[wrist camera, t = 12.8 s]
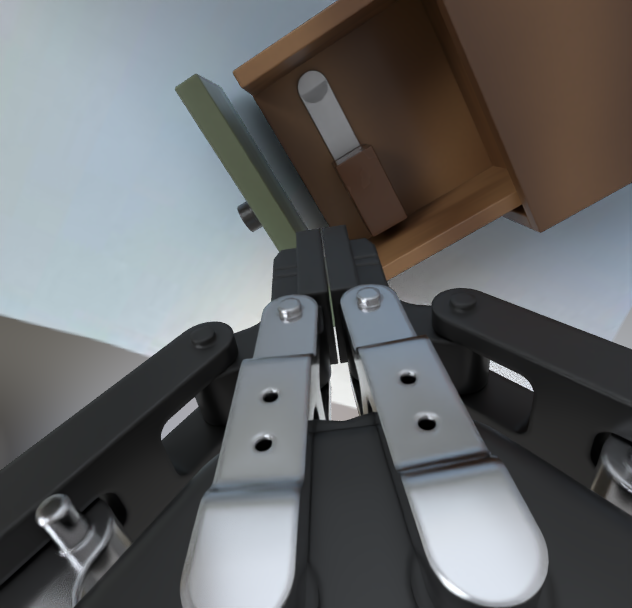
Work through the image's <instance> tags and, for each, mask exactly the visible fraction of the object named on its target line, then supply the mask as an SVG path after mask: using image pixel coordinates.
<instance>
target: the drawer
mask: <svg viewBox="0 0 632 608" xmlns="http://www.w3.org/2000/svg"><path fill="white" fill-rule="evenodd" d="M310 70H316V71H319V72H321V73H322V74H323V75H324V76H325V77H326V79H327V81H328V83H329V85H330V87H331V89H332V91H333V93H334V95H335V97H336V99H337V101H338V102H339V104H340V106H341V108H342V110H343V112H344V114H345V116H346V118H347V120H348V122H349V124H350V126H351V128H352V130H353V132H354V134H355V136H356V138H357V139H358V141H359V143H360V145H361V144H368V145H372V147H373V149H374V151H375V153H376V154H377V156H378V158H379V160H380V162H381V164H382V166H383V168H384V170H385V172H386V174H387V176H388V178H389V180H390V182H391V184H392V186H393V188H394V190H395V192H396V194H397V196H398V198H399V200H400V202H401V204H402V206H403V208H404V210H405V212H406V214H407V216H408V218H407V219H405V220H403V221H401V222H400V223H398V224H396V225H394V226H393V227H391V228H389V229H387V230H386V231H384V232H382V233H380V234H379V235H377V236H375V237H373V236H372V235H371V233H370V232H369V231H368V229H367V228H366V227H365V225H364V223H363V221H362V219H361V217H360V216H359V214H358V212H357V210H356V208H355V206H354V205H353V203H352V201H351V199H350V197H349V195H348V194H347V192H346V190H345V188H344V186H343V184H342V182H341V181H340V179H339V177H338V175H337V173H336V171H335V170H334V168H333V166H332V164H331V163H332V162H333V161H335V160H334V159H333V157H332V155H331V153H330V151H329V149H328V148H327V146H326V144H325V142H324V140H323V138H322V136H321V135H320V133H319V131H318V129H317V127H316V125H315V123H314V122H313V120H312V118H311V116H310V114H309V112H308V111H307V109H306V107H305V105H304V103H303V101H302V99H301V98H300V96H299V93H298V81H299V79H300V77H301V76H302V75H303V74H304V73H305V72H307V71H310ZM233 75H234V76H235V78H236V80H237V81H238V83H239V85H240V86H241V88H243V89H244V90H245V91H247V92H248V93H249V94H251V95H252V96H253V98H254V99H255V101H256V103H257V105H258V106H259V108H260V110H261V111H262V113H263V115H264V116H265V118H266V120H267V122H268V123H269V125H270V127H271V128H272V130H273V132H274V133H275V135H276V137H277V139H278V140H279V142H280V144H281V145H282V147H283V149H284V150H285V152H286V154H287V155H288V157H289V159H290V161H291V162H292V164H293V166H294V167H295V169H296V171H297V172H298V174H299V176H300V178H301V179H302V181H303V183H304V184H305V186H306V188H307V189H308V191H309V193H310V195H311V196H312V198H313V200H314V201H315V203H316V205H317V206H318V208H319V210H320V212H321V213H322V215H323V217H324V218H325V220H326V222H327V223H328V225H329V227H332V226H339V225H346V228H347V232H348V237H349V240H354V239H361V238H366V239H367V240H369V241H370V242H372V243H373V244H374V245H375V247H376V250H377V253H378V256H379V259H380V263H381V265H382V268H383V271H384V274H385V277H386V280H387V281H388V280H389V279H391V278H393V277H395V276H397V275H398V274H400V273H402V272H404V271H405V270H407V269H409V268H411V267H412V266H414V265H416V264H418V263H420V262H421V261H423V260H425V259H427V258H428V257H430V256H432V255H434V254H435V253H437V252H439V251H441V250H442V249H444V248H446V247H448V246H450V245H451V244H453V243H455V242H457V241H458V240H460V239H462V238H464V237H465V236H467V235H469V234H471V233H473V232H474V231H476V230H478V229H480V228H481V227H483V226H485V225H487V224H488V223H490V222H492V221H494V220H496V219H497V218H499V217H501V216H503V215H504V214H506V213H508V212H510V211H511V210H513V209H515V208H517V207H519V206H520V205H522V203H521V201H520V198H519V196H518V193H517V191H516V189H515V186H514V184H513V182H512V179H511V177H510V175H509V172H508V170H507V167H506V165H505V163H504V160H503V158H502V156H501V153H500V151H499V149H498V146H497V144H496V141H495V139H494V137H493V134H492V132H491V130H490V127H489V125H488V122H487V120H486V118H485V115H484V113H483V111H482V108H481V106H480V104H479V101H478V99H477V96H476V94H475V92H474V89H473V87H472V85H471V82H470V80H469V77H468V75H467V73H466V70H465V68H464V66H463V63H462V61H461V59H460V56H459V54H458V51H457V49H456V47H455V44H454V42H453V40H452V37H451V35H450V32H449V30H448V28H447V25H446V23H445V21H444V18H443V16H442V14H441V11H440V9H439V6H438V4H437V2H436V0H337V1H336V2H334V3H333V4H331V5H330V6H329V7H327V8H326V9H324V10H323V11H321V12H320V13H318V14H317V15H315V16H314V17H312V18H311V19H309V20H308V21H306V22H305V23H303V24H302V25H300V26H299V27H297V28H296V29H294V30H293V31H292V32H290V33H289V34H287V35H286V36H284V37H283V38H281V39H280V40H278V41H277V42H275V43H274V44H272V45H271V46H269V47H268V48H266V49H265V50H263V51H262V52H260V53H259V54H257V55H256V56H254V57H253V58H252V59H250V60H249V61H247V62H246V63H244V64H243V65H241V66H240V67H238V68H237V69H235V70H234V71H233ZM175 91H176V92H177V94H178V95H179V97H180V99H181V100H182V102H183V103H184V105H185V106H186V108H187V109H188V111H189V113H190V114H191V116H192V117H193V119H194V120H195V122H196V123H197V125H198V127H199V128H200V130H201V131H202V133H203V134H204V136H205V137H206V139H207V140H208V142H209V144H210V145H211V147H212V148H213V150H214V151H215V153H216V154H217V156H218V158H219V159H220V161H221V162H222V164H223V165H224V167H225V168H226V170H227V172H228V173H229V175H230V176H231V178H232V179H233V181H234V182H235V184H236V186H237V187H238V189H239V190H240V192H241V193H242V195H243V196H244V198H245V200H246V202H245V203H243V204H241V205H240V206H238V207H237V209H238V212H239V215H240V217H241V218H242V220H243V222H244V223H245V225H246V226H247V227H248V228H249V230H251V231H252V232H254V231H256V230H257V229H259V228H261V227H262V226H263V227H264V229H265V231H266V232H267V234H268V235H269V237H270V238H271V240H272V241H273V243H274V245H275V246H276V248H277V249H278V251H279V252H280V251H281V250H285V249H292V248H296V232H298V231H305V230H308V229H307V227H306V225H305V224H304V222H303V221H302V219H301V217H300V216H299V214H298V212H297V211H296V209H295V207H294V206H293V204H292V202H291V201H290V199H289V197H288V196H287V194H286V193H285V191H284V189H283V188H282V186H281V184H280V183H279V181H278V179H277V178H276V176H275V174H274V173H273V171H272V170H271V168H270V166H269V165H268V163H267V161H266V160H265V158H264V156H263V155H262V153H261V151H260V150H259V148H258V147H257V145H256V143H255V142H254V140H253V138H252V137H251V135H250V133H249V132H248V130H247V128H246V127H245V125H244V124H243V122H242V120H241V119H240V117H239V115H238V114H237V112H236V110H235V109H234V107H233V105H232V104H231V102H230V100H229V99H228V97H227V96H226V94H225V92H224V91H223V89H222V87H220V86H218V85H217V84H215V83H213V82H211V81H209V80H207V79H205V78H204V77H202V76H200V75H198V74H194V75H193V76H191V77H190V78H188V79H187V80H185V81H184V82H182V83H181V84H179V85H178V86H177V87H175ZM324 261H325V268H326V275H327V282H328V289H329V297H330V304H331V312H332V320H333V327H334V326H335V320H334V313H333V306H332V299H331V292H330V285H329V277H328V270H327V262H326V258H325V257H324Z"/></svg>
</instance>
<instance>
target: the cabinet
mask: <svg viewBox="0 0 632 608" xmlns="http://www.w3.org/2000/svg"><path fill="white" fill-rule="evenodd" d="M436 2H437V4H438V6H439V9H440V11H441V14H442V16H443V18H444V21H445V23H446V25H447V28H448V30H449V32H450V35H451V37H452V40H453V42H454V44H455V47H456V49H457V51H458V54H459V56H460V59H461V61H462V63H463V66H464V68H465V70H466V73H467V75H468V77H469V80H470V82H471V85H472V87H473V89H474V92H475V94H476V96H477V99H478V101H479V104H480V106H481V108H482V111H483V113H484V115H485V118H486V120H487V122H488V125H489V127H490V130H491V132H492V134H493V137H494V139H495V141H496V144H497V146H498V149H499V151H500V153H501V156H502V158H503V160H504V163H505V165H506V167H507V170H508V172H509V175H510V177H511V179H512V182H513V184H514V186H515V189H516V191H517V193H518V196H519V198H520V201H521V203H522V205H520V206H519V207H517V208H515V209H513V210H511V211H510V212H508V213H506V214H504V215H503V217H505V218H507V219H510V220H512V221H514V222H517V223H519V224H521V225H523V226H526V227H528V228H530V229H533V230H535V231H537V232H539V233H541V232H543V231H545V230H547V229H549V228H550V227H552V226H554V225H556V224H558V223H559V222H561V221H563V220H565V219H567V218H568V217H570V216H572V215H574V214H576V213H578V212H579V211H581V210H583V209H585V208H587V207H588V206H590V205H592V204H594V203H596V202H597V201H599V200H601V199H603V198H605V197H606V196H608V195H610V194H612V193H614V192H616V191H617V190H619V189H621V188H623V187H625V186H626V185H628V184H630V183H632V0H436Z"/></svg>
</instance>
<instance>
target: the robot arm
mask: <svg viewBox="0 0 632 608" xmlns="http://www.w3.org/2000/svg"><path fill="white" fill-rule="evenodd" d="M322 232H323V240H324V247H325V255H326V262H327V270H328V277H329V285H330V292H331V299H332V306H333V313H334V320H335V327H336V334H337V341H338V348H339V355H340V362H341V363H345V362H348V366H349V372H350V380H351V387H352V390H353V394H354V398H355V402H356V405H357V409H358V413H359V416H358V417H355V418H352V419H350V420H346V421H332V420H331V383H330V377H331V364H338V359H337V351H336V343H335V335H334V328H333V320H332V312H331V304H330V297H329V289H328V282H327V275H326V268H325V261H324V254H323V247H322V240H321V233H320V228H319V229H312V230H305V231H298V232H296V248H292V249H285V250H281V251H280V252H279V253H278V255H277V256H276V257H275V259H274V264H273V281H272V298H271V302H270V303H269V304H268V305H267V306H266V307H265V308H264V310H263V313H262V317H261V322H260V323H258V324H257V325H255V326H253V327H250V328H248V329H245V330H242V331H240V332H237V333H233V330H232V328H231V327H230V326H229V325H227V324H225V323H222V322H206V323H202V324H199V325H196V326H194V327H192V328H190V329H188V330H187V331H185V332H184V333H182V334H181V335H180V336H178V337H177V338H176V339H174V340H173V341H172V342H170V343H169V344H168V345H166V346H165V347H164V348H162V349H161V350H160V351H158V352H157V353H156V354H154V355H153V356H152V357H150V358H149V359H148V360H146V361H145V362H144V363H142V364H141V365H140V366H138V367H137V368H136V369H135V370H133V371H132V372H130V373H129V374H128V375H126V376H125V377H124V378H122V379H121V380H120V381H119V382H117V383H116V384H115V385H113V386H112V387H111V388H109V389H108V390H107V391H105V392H104V393H103V394H101V395H100V396H99V397H97V398H96V399H95V400H93V401H92V402H91V403H89V404H88V405H87V406H85V407H84V408H83V409H81V410H80V411H79V412H77V413H76V414H75V415H74V416H72V417H71V418H69V419H68V420H67V421H65V422H64V423H63V424H61V425H60V426H59V427H57V428H56V429H55V430H53V431H52V432H51V433H50V434H48V435H47V436H45V437H44V438H43V439H41V440H40V441H39V442H37V443H36V444H35V445H33V446H32V447H31V448H29V449H28V450H27V451H26V452H24V453H23V454H21V455H20V456H19V457H18V458H16V459H15V460H14V461H12V462H11V463H9V464H8V465H7V466H6V467H4V468H3V469H2V470H0V608H632V349H629V348H627V347H624V346H621V345H618V344H616V343H614V342H611V341H608V340H606V339H603V338H600V337H598V336H595V335H593V334H590V333H587V332H585V331H582V330H580V329H577V328H574V327H572V326H569V325H567V324H564V323H561V322H559V321H556V320H554V319H551V318H548V317H546V316H543V315H540V314H538V313H535V312H533V311H530V310H527V309H525V308H522V307H520V306H517V305H514V304H512V303H509V302H507V301H504V300H501V299H499V298H496V297H494V296H491V295H488V294H486V293H483V292H480V291H477V290H473V289H467V288H456V289H450V290H446V291H444V292H441V293H440V294H438V295H437V296H436V297H435V298H434V299H433V301H432V306H427V305H415V304H409V303H406V302H403V301H401V300H399V298H398V296H397V294H396V293H395V291H394V290H392V289H391V288H389V286H388V283H387V280H386V277H385V274H384V271H383V268H382V265H381V263H380V259H379V256H378V253H377V250H376V247H375V245H374V244H373V243H372V242H370V241H369V240H367V239H366V238H361V239H354V240H349V237H348V232H347V228H346V225H339V226H332V227H325V228H322ZM490 360H492V361H494V362H496V363H498V364H500V365H502V366H504V367H506V368H508V369H510V370H512V371H514V372H516V373H518V374H520V375H522V376H523V377H525V378H526V379H527V380H528V381H529V382H530V384H531V385H532V387H533V390H534V392H533V391H531V390H529V389H527V388H525V387H523V386H521V385H519V384H517V383H515V382H513V381H511V380H509V379H507V378H505V377H503V376H501V375H499V374H497V373H495V372H493V371H491V370H489V364H490ZM194 397H195V398H196V400H197V403H198V406H199V407H198V408H197V409H196V410H194V411H193V412H192V413H191V414H190V415H189V416H188V417H187V418H186V419H185V420H183V421H182V422H181V423H180V424H179V425H178V426H177V427H176V428H175V429H173V430H172V431H171V432H170V433H169V434H168V435H167V436H166V437H165V438H164V439H163V440H161V432H162V429H163V427H164V425H165V424H166V422H167V421H168V420H169V419H170V418H171V417H172V416H173V415H174V414H176V413H177V412H178V411H179V410H180V409H181V408H182V407H184V406H185V405H186V404H187V403H188V402H189V401H190V400H191V399H193V398H194Z"/></svg>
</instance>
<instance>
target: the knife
mask: <svg viewBox="0 0 632 608" xmlns="http://www.w3.org/2000/svg"><path fill="white" fill-rule="evenodd" d="M298 93H299V96H300V98H301V99H302V101H303V103H304V105H305V107H306V109H307V111H308V112H309V114H310V116H311V118H312V120H313V122H314V123H315V125H316V127H317V129H318V131H319V133H320V135H321V136H322V138H323V140H324V142H325V144H326V146H327V148H328V149H329V151H330V153H331V155H332V157H333V159H334V160H335V161H333V162H332V163H331V164H332V166H333V168H334V170H335V171H336V173H337V175H338V177H339V179H340V181H341V182H342V184H343V186H344V188H345V190H346V192H347V194H348V195H349V197H350V199H351V201H352V203H353V205H354V206H355V208H356V210H357V212H358V214H359V216H360V217H361V219H362V221H363V223H364V225H365V227H366V228H367V229H368V231H369V232H370V233H371V235H372V236H373V237H375V236H377V235H379V234H380V233H382V232H384V231H386V230H387V229H389V228H391V227H393V226H394V225H396V224H398V223H400V222H401V221H403V220H405V219H407V218H408V216H407V214H406V212H405V210H404V208H403V206H402V204H401V202H400V200H399V198H398V196H397V194H396V192H395V190H394V188H393V186H392V184H391V182H390V180H389V178H388V176H387V174H386V172H385V170H384V168H383V166H382V164H381V162H380V160H379V158H378V156H377V154H376V153H375V151H374V149H373V147H372V145H368V144H361V145H360V143H359V141H358V139H357V138H356V136H355V134H354V132H353V130H352V128H351V126H350V124H349V122H348V120H347V118H346V116H345V114H344V112H343V110H342V108H341V106H340V104H339V102H338V101H337V99H336V97H335V95H334V93H333V91H332V89H331V87H330V85H329V83H328V81H327V79H326V77H325V76H324V75H323V74H322V73H321V72H319V71H316V70H310V71H307V72H305V73H304V74H303V75H302V76H301V77H300V79H299V81H298Z"/></svg>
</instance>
